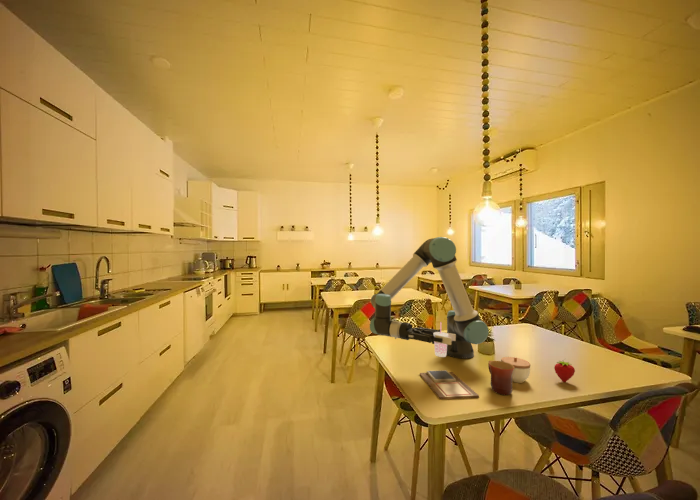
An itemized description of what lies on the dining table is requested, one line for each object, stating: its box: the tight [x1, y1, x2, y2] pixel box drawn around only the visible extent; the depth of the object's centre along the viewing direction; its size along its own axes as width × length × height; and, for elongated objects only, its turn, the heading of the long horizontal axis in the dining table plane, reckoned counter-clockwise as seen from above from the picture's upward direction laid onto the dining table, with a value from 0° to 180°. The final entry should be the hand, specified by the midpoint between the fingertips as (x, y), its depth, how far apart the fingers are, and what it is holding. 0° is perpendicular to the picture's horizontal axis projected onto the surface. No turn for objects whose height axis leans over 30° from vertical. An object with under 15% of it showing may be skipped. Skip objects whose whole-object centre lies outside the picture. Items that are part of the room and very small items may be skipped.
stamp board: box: [419, 369, 480, 400], centre depth 111 cm, size 15×21×2 cm
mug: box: [488, 360, 514, 396], centre depth 108 cm, size 12×9×10 cm
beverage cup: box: [433, 321, 448, 358], centre depth 117 cm, size 6×6×14 cm
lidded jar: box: [500, 356, 531, 384], centre depth 118 cm, size 11×11×9 cm
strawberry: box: [553, 358, 576, 383], centre depth 116 cm, size 6×8×10 cm
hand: (453, 339), depth 114 cm, fingers closed on beverage cup, 6 cm apart
